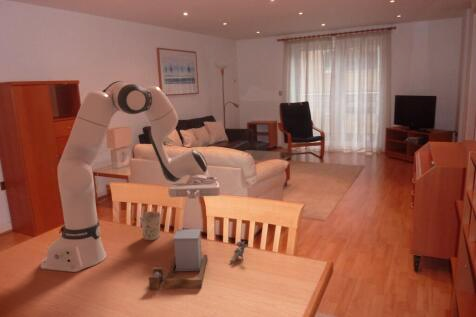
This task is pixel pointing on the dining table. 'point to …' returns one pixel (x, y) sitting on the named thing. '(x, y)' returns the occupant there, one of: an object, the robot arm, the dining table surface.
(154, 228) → the mug
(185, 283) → the bay
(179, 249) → the gray rectangular block
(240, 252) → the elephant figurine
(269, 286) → the dining table surface
